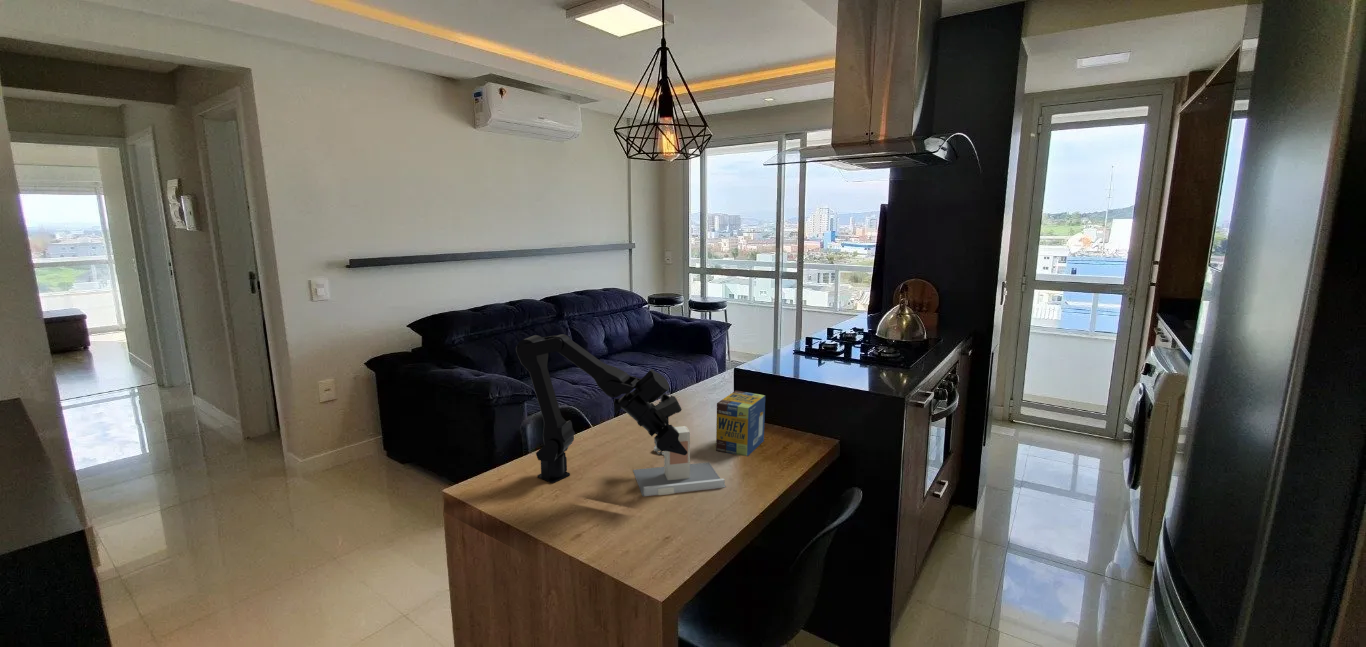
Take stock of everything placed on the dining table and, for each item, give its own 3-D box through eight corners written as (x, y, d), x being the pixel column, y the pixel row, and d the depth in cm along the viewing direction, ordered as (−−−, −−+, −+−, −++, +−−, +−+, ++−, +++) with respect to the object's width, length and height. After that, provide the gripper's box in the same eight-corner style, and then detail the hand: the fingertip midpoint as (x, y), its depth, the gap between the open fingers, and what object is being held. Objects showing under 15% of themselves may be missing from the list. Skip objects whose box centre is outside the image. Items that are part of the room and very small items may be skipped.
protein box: (715, 451, 174) (716, 402, 171) (734, 435, 187) (735, 389, 185) (747, 457, 169) (748, 408, 166) (764, 440, 182) (766, 394, 180)
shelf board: (642, 502, 141) (642, 489, 141) (632, 474, 157) (632, 463, 156) (726, 493, 147) (726, 480, 146) (708, 467, 162) (709, 455, 162)
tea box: (668, 480, 150) (667, 434, 148) (664, 473, 155) (664, 427, 152) (689, 478, 152) (690, 432, 149) (685, 471, 156) (685, 426, 154)
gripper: (670, 398, 139) (712, 437, 143) (656, 379, 157) (694, 414, 161) (639, 432, 138) (682, 470, 143) (628, 408, 156) (667, 442, 161)
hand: (682, 447), depth 152 cm, fingers open, 9 cm apart
